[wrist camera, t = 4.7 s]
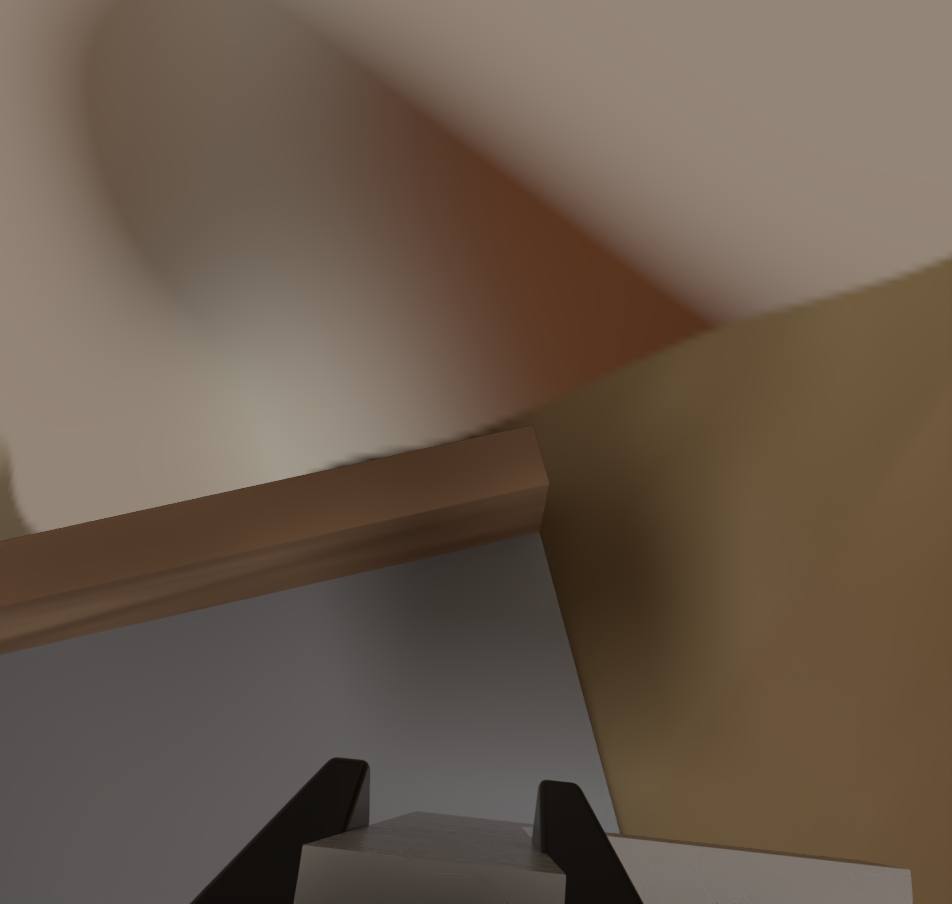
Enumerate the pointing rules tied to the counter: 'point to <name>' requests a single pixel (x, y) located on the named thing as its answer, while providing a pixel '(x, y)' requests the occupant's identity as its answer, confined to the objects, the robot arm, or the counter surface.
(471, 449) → the walls
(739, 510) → the counter surface
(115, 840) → the mat
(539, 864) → the bracket
